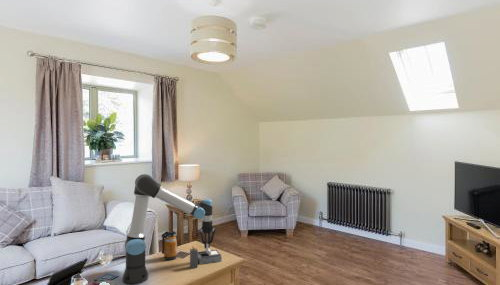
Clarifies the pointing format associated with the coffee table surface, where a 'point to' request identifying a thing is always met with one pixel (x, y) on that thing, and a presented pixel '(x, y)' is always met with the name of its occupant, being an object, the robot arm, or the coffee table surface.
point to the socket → (208, 257)
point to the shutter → (212, 252)
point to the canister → (169, 245)
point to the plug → (193, 258)
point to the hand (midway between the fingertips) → (207, 252)
